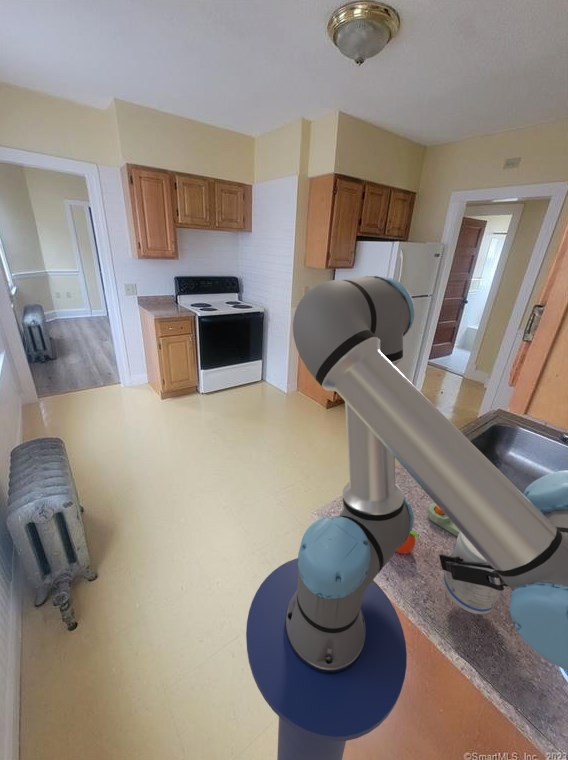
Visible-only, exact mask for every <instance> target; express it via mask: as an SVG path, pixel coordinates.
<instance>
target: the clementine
mask: <svg viewBox="0 0 568 760" xmlns="http://www.w3.org/2000/svg"><path fill="white" fill-rule="evenodd" d="M416 538H417V540H419V542H421V539H420V537H419V536H418V534H417V533H416V532H415V531H414V530H413V529H412V530H411V532H410V534H409V537H408V538H407V540H406V541H405V543H404V544H403V545H402V546H400V547H399V548H398V550H397V551H396V552H395V553H398V554H407V553H409V552H411V551H412V550H413V549H414V547H415V545H416Z"/></svg>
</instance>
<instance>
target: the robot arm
mask: <svg viewBox="0 0 568 760" xmlns="http://www.w3.org/2000/svg"><path fill="white" fill-rule="evenodd" d="M415 312H416V310H415V304H414V300H413V297H412V295H411V294H410V292H409V291H408V289H407V288H406V287H405V286H404V285H403V284H402V283H400V282H399V281H397V280H396V279H394V278H392V277H388V276H379V275H366V276H362V277H354V278H346V279H331V280H326V281H323V282H320V283H318V284H316V285H314V286H313V287H312V288H310V289H308V291H306V293H305V294H304V295H303V296H302V298H301V299H300V300H299V302H298V303H297V306H296V308H295V312H294V315H293V320H292V334H293V340H294V344H295V347H296V351H297V352H298V355H299V357H300V359H301V361H302V362H303V365H304V366H305V368H306V369H307V371H308V372H309V373H310V375H311V376H312V377H313V378H314V380H315V381H316V382H317V383H318V384H319V385H320V387H322V389H323V390H325V391H327V392H336V393H337V394H338V395H339V396H340V397H341V399H342V400H343V401H344V409H345V410H344V411H345V428H346V443H347V461H348V476H349V477H348V480H349V482H347V483H346V484H345V486H344V487H343V489H342V505H343V509H342V511H341V513H340V514H338V515H333V516H332V517H331V518H330V517H329V516H324V517H321V518H318V519H317V520H315V521H314V522H313V523H311V524H310V525H309V526H308V527H307V528H306V530H305V532H304V533H303V535H302V538H301V541H300V545H299V549H298V554H297V558H298V581H297V591H296V592H295V594H294V595H293V596H292V598H291V600H290V602H289V604H288V608H287V612H286V634H287V638H288V641H289V644H290V646H291V648H292V650H293V652H294V653H295V655H296V656H297V657H298V659H299V660H300V661H301V662H302V663H303V664H305V665H306V666H307V667H309V668H310V669H312V670H314V671H317V672H319V673H323V674H337V673H341V672H343V671H345V670H347V669H349V668H350V667H351V666H353V665H354V664H355V662H356V661H357V660H358V658H359V657H360V655H361V652H362V650H363V646H364V641H365V635H366V626H365V620H364V616H363V613H362V611H361V608H360V606H361V601H362V596H363V594H364V592H365V590H366V588H367V587H368V586H369V585H370V583H371V582H372V581H373V580H375V578H376V577H377V576H378V575H379V573H380V572H381V571H382V569H383V568H384V567H385V566H386V565H387V564H388V562H389V561H390V560H391V559H392V557H393V556H394V554H395V553H397V552H396V551H397V550H398V548H399V547H400V546H402V545H403V544H404V543H405V541H406V540H407V538H408V537H409V534H410V532H411V530H413V528H414V523H415V516H414V510H413V507H412V505H411V503H410V502H409V501H407V497H406V495H405V494H404V492H403V490H402V488H401V487H400V486H399V485H398V484H396V461H397V462H398V463H399V464H400V465H401V466H402V468H403V469H405V471H406V472H407V473H408V474H409V475H410V476H411V478H412V479H413V480H414V481H415V482H416V483H417V484H418V486H419V487H421V489H422V490H423V491H424V492H425V493H426V494H427V495H428V497H429V498H430V499H431V500H432V502H434V503H436V504H437V506H438V507H439V508H440V509H441V510H442V511H443V512H444V513H445V515H446V516H447V517H448V518H449V519H450V520H451V521H452V522H453V524H454V525H455V526H456V527H457V528H458V529H459V530H460V531H461V533H462V534H463V535H464V536H465V537H466V538H467V539H468V540H469V542H470V543H471V544H472V545H473V546H474V547H475V548H476V550H477V551H478V552H479V553H480V554H481V555H482V556H483V557H484V559H485V560H486V561H487V562H488V563H477V562H466V561H463V559H460V557H459V556H457V557H452V556H451V555H447V554H443V553H441V554H438V557H439V562H440V566H441V570H443V571H444V572H445V571H448V572H451V575H452V579H454V580H459V581H464V582H468V583H473V584H478V585H482V586H487V587H491V588H493V589H496V590H498V591H502V592H503V591H504V590H505V587H507V588H509V589H510V590H511V592H510V594H509V599H510V600H509V602H510V603H509V608H508V609H509V614H510V619H511V620H512V622H513V624H514V628H515V630H516V631H517V633H518V635H519V636H520V637H521V638H522V640H524V642H525V643H526V645H528V646H529V647H530V648H531V649H532V650H533V651H535V652H536V653H537V654H538V655H539V656H541V657H542V658H543V659H544V660H547V661H548V662H550V663H551V664H553V665H555V666H556V667H559V668H560V669H563V670H565V671H567V672H568V469H567V470H559V471H555V472H551V473H548V474H545V475H543V476H541V477H539V478H537V479H535V480H533V481H532V482H531V483H530V484H529V485H528V486H527V487H526V488H525V489H524V492H521V491H520V489H518V487H516V485H515V484H513V482H512V481H511V480H509V478H507V476H505V475H504V474H503V472H502V471H501V470H500V469H498V468H497V467H496V465H494V463H492V461H490V460H489V458H488V457H486V456H485V455H484V454H483V452H482V451H481V450H480V449H478V447H476V446H475V445H474V444H473V442H471V441H470V440H469V439H468V438H467V437H466V436H465V434H463V433H462V432H461V431H460V430H459V429H458V428H457V427H456V425H454V424H453V423H452V422H451V421H450V419H448V417H446V416H445V414H443V412H441V411H440V409H439V408H437V407H436V405H434V403H432V401H430V399H428V398H427V396H425V395H424V394H423V393H422V391H420V390H419V388H417V386H415V385H414V384H413V383H412V382H411V381H410V380H409V379H408V377H406V376H405V374H403V373H402V372H401V370H400V369H399V368H397V365H398V364H399V363H400V362H401V361H403V359H404V337H405V336H406V335H407V333H409V331H410V329H411V327H412V326H413V324H414V320H415V314H416V313H415ZM503 586H504V587H503Z"/></svg>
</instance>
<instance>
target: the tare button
mask: <svg viewBox="0 0 568 760" xmlns="http://www.w3.org/2000/svg"><path fill="white" fill-rule="evenodd" d="M435 512H436V513H437V514H439V515H445V513H444V512H443V511H442V510H441V509H440V508H439V507H438V506H437V504H436V507H435Z"/></svg>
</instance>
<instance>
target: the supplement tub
mask: <svg viewBox="0 0 568 760" xmlns="http://www.w3.org/2000/svg"><path fill="white" fill-rule="evenodd" d="M456 537H457V538H456V540H455V542H454V546H453V548H452V551H451V554H450V556H452V557H457V556H459V557H460V559H463V561H466V562H477V563H488V562H487V561H486V560H485V559H484V557H483V556H482V555H481V554H480V553H479V552H478V551H477V550H476V548H475V547H474V546H473V545H472V544H471V543H470V542H469V540H468V539H467V538H466V537H465V536H464V535H463V534H462V533H461V531H460V533H459V535H458V536H456ZM442 575H443V576H442V581H443V582H442V583H443V586H444V589H445V592H446V593H447V595H448V596H449V597H450V599H451V600H452V601H453V603H455V604H456V605H457V606H459V607H460V608H461V609H463V610H465V611H467V612H469V613H471V614H474V615H485V614H488V613H491V612H492V610H493V609H494V607H495V605H496V604H497V602H498V600H499V598H500V597H501V595H502V593H503V590H502V591H498V590H496V589H493V588H491V587H487V586H482V585H478V584H473V583H468V582H464V581H459V580H454V579H452V575H451V572H448V571H445V570H444V572H443V574H442ZM503 587H504V588H505V586H503Z"/></svg>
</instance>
